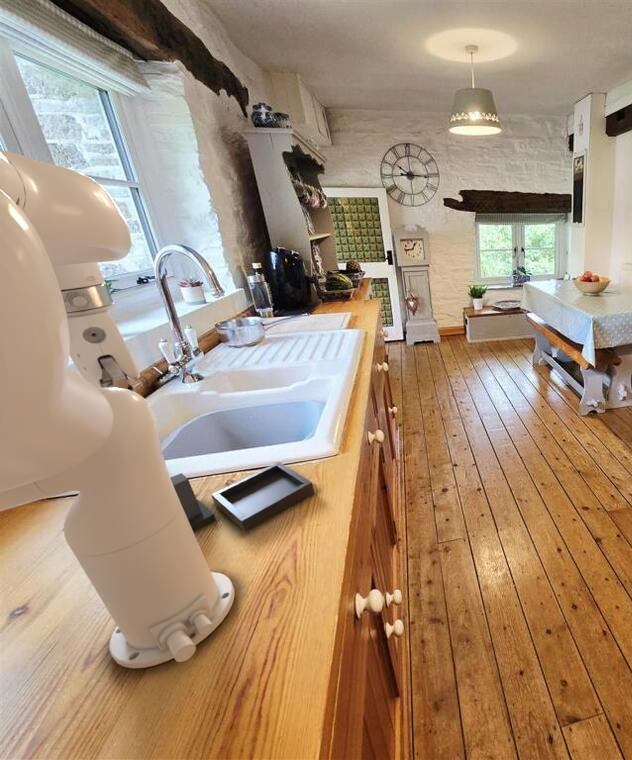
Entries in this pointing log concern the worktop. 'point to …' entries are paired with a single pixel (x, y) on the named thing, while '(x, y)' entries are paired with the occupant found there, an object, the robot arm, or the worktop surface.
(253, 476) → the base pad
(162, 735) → the worktop surface
